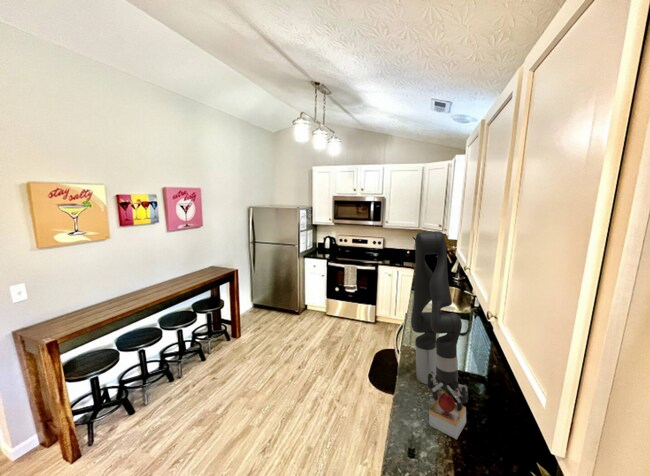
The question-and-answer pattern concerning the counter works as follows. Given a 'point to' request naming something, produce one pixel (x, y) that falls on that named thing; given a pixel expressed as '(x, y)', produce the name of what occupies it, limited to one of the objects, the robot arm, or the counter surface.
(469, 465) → the counter surface
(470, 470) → the counter surface
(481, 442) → the counter surface
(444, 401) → the onion
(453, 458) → the counter surface
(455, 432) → the wooden tray
